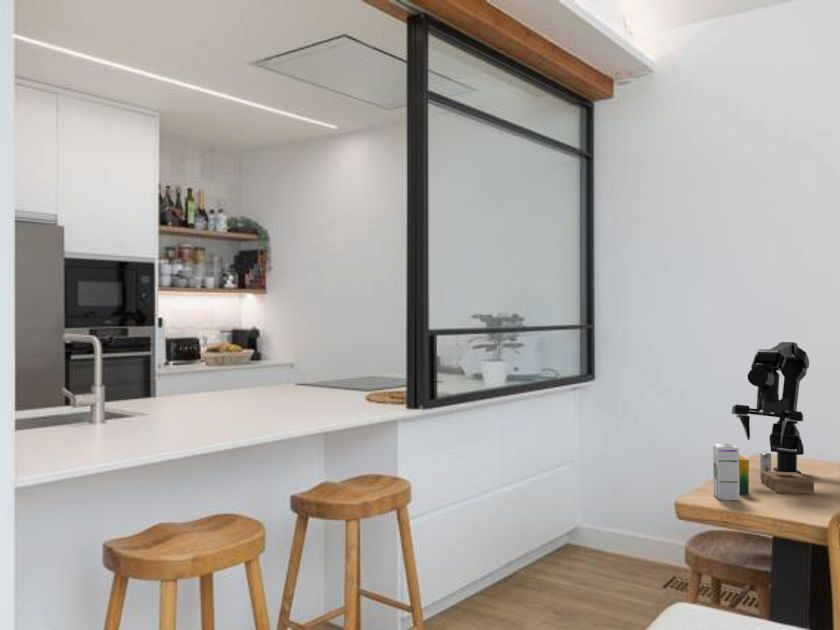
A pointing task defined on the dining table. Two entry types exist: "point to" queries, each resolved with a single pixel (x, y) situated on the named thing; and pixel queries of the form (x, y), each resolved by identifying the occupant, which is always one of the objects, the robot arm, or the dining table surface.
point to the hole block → (787, 482)
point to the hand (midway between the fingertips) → (765, 441)
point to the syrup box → (726, 471)
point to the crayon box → (743, 475)
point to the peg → (765, 462)
